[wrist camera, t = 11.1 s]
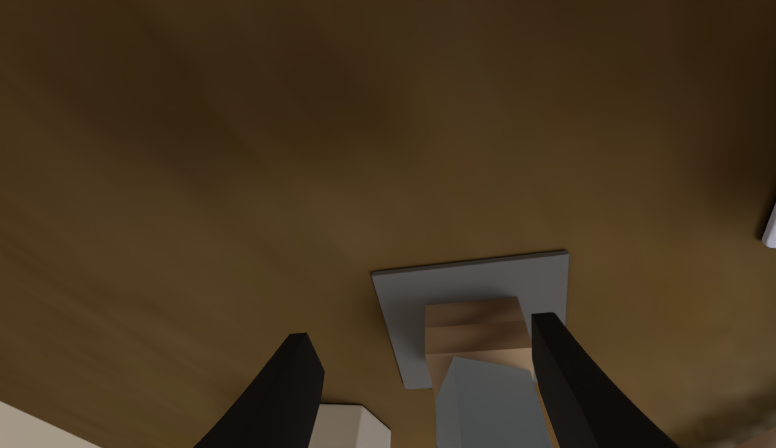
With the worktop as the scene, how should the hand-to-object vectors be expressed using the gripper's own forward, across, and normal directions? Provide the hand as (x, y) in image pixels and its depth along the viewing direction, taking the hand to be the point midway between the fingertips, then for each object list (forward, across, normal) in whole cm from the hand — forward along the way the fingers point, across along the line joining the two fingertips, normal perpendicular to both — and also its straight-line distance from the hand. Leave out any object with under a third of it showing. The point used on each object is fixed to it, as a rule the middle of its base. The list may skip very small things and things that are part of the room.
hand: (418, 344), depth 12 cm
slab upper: (+8, -2, +11) cm, 14 cm away
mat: (+10, -2, +11) cm, 15 cm away
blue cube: (+6, -2, +11) cm, 13 cm away
